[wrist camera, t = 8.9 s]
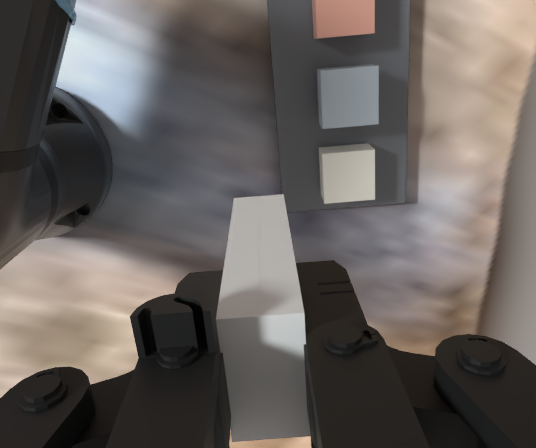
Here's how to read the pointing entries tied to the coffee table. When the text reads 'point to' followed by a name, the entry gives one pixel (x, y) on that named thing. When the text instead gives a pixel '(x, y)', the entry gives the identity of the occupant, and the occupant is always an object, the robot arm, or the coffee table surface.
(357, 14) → the key coral
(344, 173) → the key ivory
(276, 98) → the keypad base
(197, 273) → the robot arm
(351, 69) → the key slate
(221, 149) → the coffee table surface
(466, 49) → the coffee table surface
